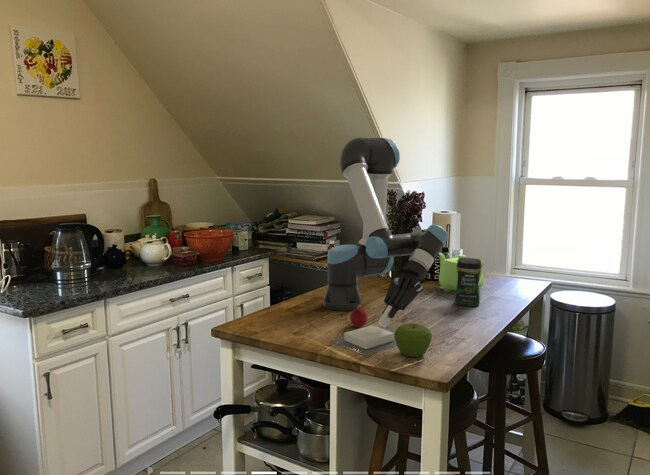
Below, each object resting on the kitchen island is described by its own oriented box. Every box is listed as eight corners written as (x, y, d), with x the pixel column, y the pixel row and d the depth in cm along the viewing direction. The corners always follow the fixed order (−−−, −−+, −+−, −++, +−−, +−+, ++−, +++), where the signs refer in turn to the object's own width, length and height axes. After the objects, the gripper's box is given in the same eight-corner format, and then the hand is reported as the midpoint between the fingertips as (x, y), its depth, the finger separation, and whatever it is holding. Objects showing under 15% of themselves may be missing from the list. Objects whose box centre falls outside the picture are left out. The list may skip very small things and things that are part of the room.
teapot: (501, 292, 233) (503, 255, 230) (467, 299, 221) (469, 261, 218) (457, 280, 253) (458, 247, 251) (423, 287, 241) (424, 252, 239)
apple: (393, 361, 156) (393, 328, 154) (394, 348, 166) (395, 317, 164) (431, 364, 154) (432, 330, 152) (430, 350, 164) (431, 319, 163)
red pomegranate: (362, 332, 181) (362, 308, 180) (347, 329, 184) (347, 306, 183) (370, 327, 186) (370, 304, 185) (355, 324, 189) (355, 302, 188)
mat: (384, 327, 186) (384, 326, 186) (419, 340, 173) (419, 338, 173) (330, 342, 171) (330, 341, 171) (364, 357, 158) (364, 355, 158)
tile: (372, 325, 178) (344, 332, 170) (394, 333, 170) (366, 341, 163) (372, 333, 178) (344, 341, 171) (393, 341, 170) (365, 350, 163)
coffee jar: (453, 305, 212) (455, 259, 209) (455, 300, 220) (457, 255, 217) (479, 308, 209) (481, 260, 206) (480, 302, 216) (482, 257, 214)
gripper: (438, 275, 177) (402, 336, 169) (408, 269, 187) (373, 326, 179) (428, 262, 173) (390, 323, 165) (398, 256, 183) (361, 313, 175)
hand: (381, 324), depth 172 cm, fingers closed
